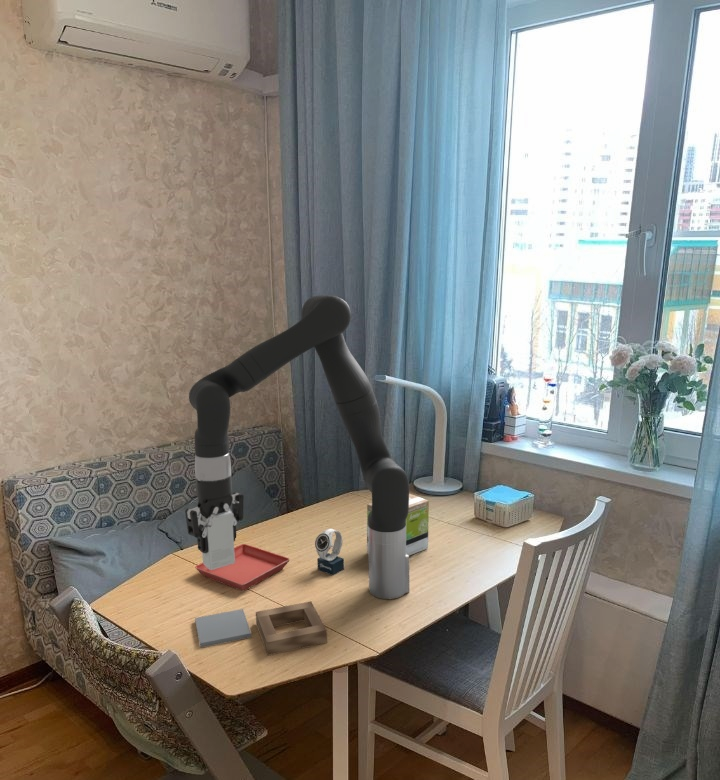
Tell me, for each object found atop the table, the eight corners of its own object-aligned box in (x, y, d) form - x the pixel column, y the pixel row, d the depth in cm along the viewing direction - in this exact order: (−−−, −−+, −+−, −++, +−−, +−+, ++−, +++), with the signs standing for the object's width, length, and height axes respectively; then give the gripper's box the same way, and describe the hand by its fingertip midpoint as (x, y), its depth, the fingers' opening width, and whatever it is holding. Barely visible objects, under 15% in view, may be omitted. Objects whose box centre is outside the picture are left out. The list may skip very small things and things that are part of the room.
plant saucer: (243, 553, 189) (243, 542, 189) (291, 569, 179) (291, 557, 178) (194, 578, 175) (193, 566, 174) (243, 597, 165) (242, 585, 164)
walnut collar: (311, 613, 156) (311, 601, 155) (327, 642, 144) (326, 629, 143) (256, 623, 152) (255, 611, 151) (267, 655, 140) (267, 642, 139)
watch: (312, 572, 176) (311, 533, 174) (332, 561, 182) (331, 523, 180) (328, 578, 173) (327, 538, 170) (348, 567, 179) (347, 528, 176)
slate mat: (243, 612, 157) (242, 608, 157) (251, 637, 147) (251, 633, 146) (195, 621, 153) (194, 617, 153) (200, 647, 143) (199, 643, 143)
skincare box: (227, 557, 150) (224, 506, 148) (236, 564, 147) (233, 512, 144) (201, 564, 147) (198, 512, 144) (209, 572, 143) (206, 518, 141)
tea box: (391, 565, 179) (390, 513, 176) (366, 553, 187) (365, 503, 184) (429, 548, 189) (429, 499, 186) (404, 538, 196) (404, 490, 193)
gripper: (229, 462, 150) (232, 531, 154) (174, 478, 140) (179, 553, 143) (250, 468, 145) (254, 540, 149) (196, 486, 135) (200, 562, 138)
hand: (217, 546), depth 146 cm, fingers closed on skincare box, 6 cm apart
